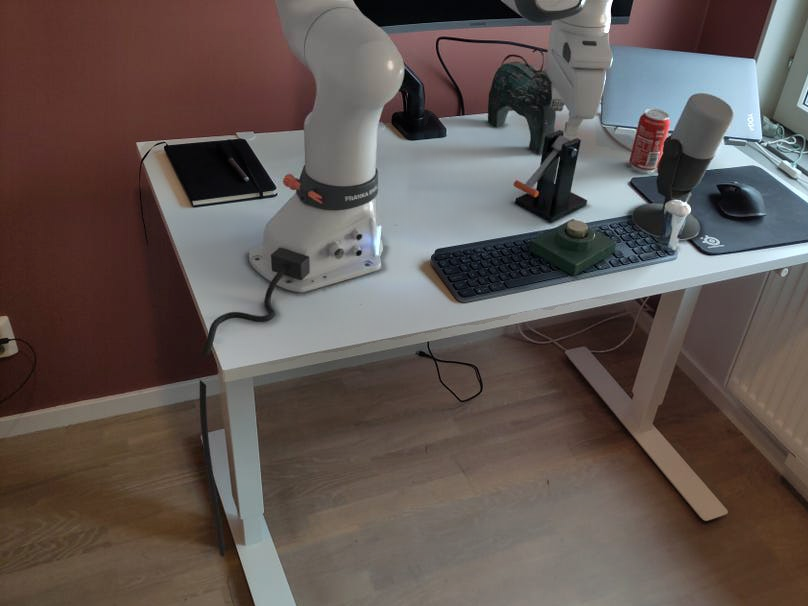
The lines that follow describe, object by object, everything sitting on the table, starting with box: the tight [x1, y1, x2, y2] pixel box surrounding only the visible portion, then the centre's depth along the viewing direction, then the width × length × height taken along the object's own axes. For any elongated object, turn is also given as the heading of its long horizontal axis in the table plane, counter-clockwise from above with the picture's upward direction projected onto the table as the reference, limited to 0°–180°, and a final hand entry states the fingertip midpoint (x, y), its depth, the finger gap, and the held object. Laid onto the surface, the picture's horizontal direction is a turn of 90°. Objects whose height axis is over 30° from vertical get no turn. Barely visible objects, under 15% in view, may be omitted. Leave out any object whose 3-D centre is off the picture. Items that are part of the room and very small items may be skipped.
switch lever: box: [513, 135, 571, 197], centre depth 150 cm, size 12×5×2 cm
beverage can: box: [629, 108, 671, 174], centre depth 172 cm, size 6×6×12 cm
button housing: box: [528, 218, 617, 277], centre depth 145 cm, size 12×10×4 cm
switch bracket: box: [514, 129, 588, 224], centre depth 154 cm, size 11×9×14 cm
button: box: [566, 219, 589, 239], centre depth 144 cm, size 4×4×2 cm
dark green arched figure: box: [487, 47, 557, 155], centre depth 173 cm, size 20×6×20 cm, turn 39°
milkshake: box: [657, 192, 692, 252], centre depth 148 cm, size 5×5×10 cm
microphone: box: [631, 92, 735, 242], centre depth 150 cm, size 13×13×25 cm
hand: (563, 121), depth 136 cm, fingers open, 8 cm apart
